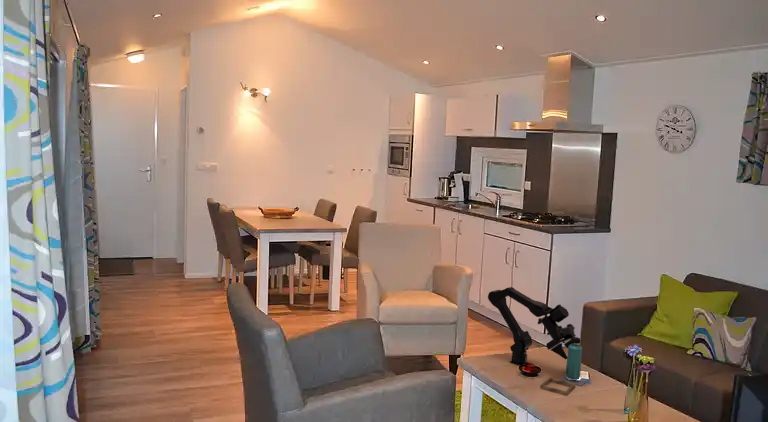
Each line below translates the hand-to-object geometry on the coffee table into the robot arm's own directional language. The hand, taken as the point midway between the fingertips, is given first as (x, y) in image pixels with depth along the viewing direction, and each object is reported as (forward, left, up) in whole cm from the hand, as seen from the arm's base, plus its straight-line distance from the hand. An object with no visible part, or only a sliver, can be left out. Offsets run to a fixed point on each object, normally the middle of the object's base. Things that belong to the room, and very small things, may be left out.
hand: (571, 356), depth 301 cm
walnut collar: (-1, -14, -11) cm, 18 cm away
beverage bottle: (+2, -2, -10) cm, 11 cm away
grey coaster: (+2, 0, -11) cm, 11 cm away
